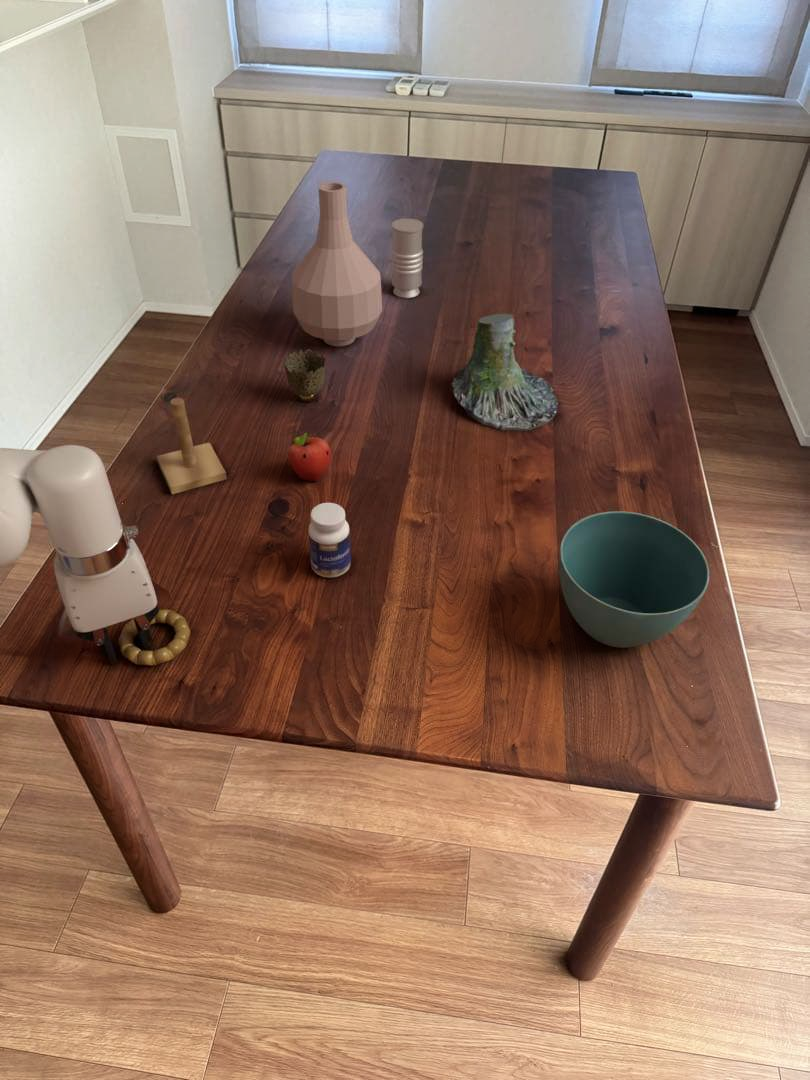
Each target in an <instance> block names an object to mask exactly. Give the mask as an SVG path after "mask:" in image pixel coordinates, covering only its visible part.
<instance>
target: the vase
mask: <svg viewBox="0 0 810 1080" xmlns="http://www.w3.org/2000/svg"><path fill="white" fill-rule="evenodd" d="M317 189H318V203H319V204H318V205H319V217H318V218H319V220H318V226H317V234H316V241H315V242H314V244H313V245H312V246H311V248H309V250H308V251H307V253H306V254H305V256H304V257H303V258H302V259H301V261H300V262H299V264H298V265H297V266H296V268H294V270H293V272H292V273H291V293H292V295H291V296H292V312H293V314H294V316H295V318H296V320H297V322H298V324H299V325H300V327H301V328H302V330H303V331H304V332H305V333H307V334H309V335H310V336H312V337H313V338H318V339H321V340H323V342H324V343H325V344H326V345H329V346H333V347H344V346H345V347H346V346H348V345H351V344H352V343H354V342H355V340H356V339H358V338H360V337H363V336H365V335H366V334H368V333H370V332H371V331H373V329H374V328H375V326H376V325H377V322H378V320H379V318H380V316H381V314H382V312H383V295H382V294H383V293H382V278H381V271H380V270H379V269H378V268H377V267H376V265H374V264H373V262H372V261H371V260H370V259H369V257H368V256H367V255H366V254H365V252H364V251H363V250H362V249H361V248H360V246H359V245H358V244H357V243H356V242H355V241H354V238H353V234H352V231H351V226H350V222H349V217H348V207H347V186H346V184H345V183H343V182H338V181H326V182H322V183H320V184H318V188H317Z"/></svg>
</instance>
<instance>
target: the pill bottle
mask: <svg viewBox="0 0 810 1080" xmlns="http://www.w3.org/2000/svg"><path fill="white" fill-rule="evenodd" d="M350 532H351V531H350V525H349V523H348V521H347V520H346V511H345V509H344V508H343V507H342V506H341V505H340V504H337V503H335V502H322V503H319V504H317V505H315V506H314V507H313V508H312V509H311V511H310V524H309V526H308V532H307V533H308V543H309V544H308V545H309V558H310V566H311V569H312V571H313V572H314V573H315V574H317V575H318V576H320V577H322V578H327V579H328V578H329V579H332V578H338V577H340V576H342V575H344V574H345V573H346V572H348V570H349V569H350V567H351V563H352V562H351V561H352V559H351V533H350Z"/></svg>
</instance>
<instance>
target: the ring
mask: <svg viewBox="0 0 810 1080" xmlns="http://www.w3.org/2000/svg"><path fill="white" fill-rule="evenodd" d="M134 619H135V618H131V619H130V620H129V621H128V622H127V623H125V624H124V626H123V628H122V630H121V632H120V635H119V638H118V645H119V649H120V652H121V655H122V656H123V657H124V658H125V659H127V660H129V661H130V662H132V663H133V664H135V665H136V666H137V665H138V666H158V665H160V664H164V663H166V662H169V661H172V660H174V659H175V658H176V657H177V656H178V655H179V654H180V653H182V652H183V651H184V650H185V649H186V647H187V644H188V642H189V639H190V636H191V629H190V626H189V624H188V621H187V619H186V618H185V616H182V615H180V614H179V613H178V612H176V611H174V610H172V609H160V610H159V613H158V614H157V615H156V616H155V618H154V619H153V620H152V621H151V623H150V625H151V626H152V625H154V624H166V625H168V626H170V627H172V628H173V630H174V636H173V639H172V640H171V641H170V642H168V643H167V644H166V646H164V647H161V648H157V649H155V650H150V651H144V650H142V649H140V648H139V647H137V646H136V643H135V638H136V636H137V634H138V631H137V628H136V625H135V622H134Z"/></svg>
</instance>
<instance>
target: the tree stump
mask: <svg viewBox="0 0 810 1080" xmlns="http://www.w3.org/2000/svg"><path fill="white" fill-rule="evenodd" d="M476 326H477V328H476V332H475V334H474V335H475V336H474V341H473V345H472V353H471V356H470V357H469V359H468V360H467V363H465V366H463V367H462V368H460V369H458V371H457V375H456V376H455V377H454V378H453V379H452V381H453V382H451V385H452V388H453V396H454V398H455V399H456V401H457V403H458V404H459V406H461V407H462V409H464V411H465V412H466V413H467V415H468V416H469V417H471V418H472V419H474V421H477V422H479V424H481V425H484V426H487V427H492V428H494V429H497V430H500V431H531V430H534V429H537V428H539V427H542V426H544V425H547V424H549V423H550V422H551V420H553V419H554V418H555V416H556V414H557V412H558V406H559V402H558V398H557V396H556V394H555V391H554V390H553V387H552V386H551V385H550V384H549V383H548V381H547V380H545V379H544V378H543V377H541V376H539V375H534V373H533V374H532V373H531V372H530V371H528V370H526V368H523V367H522V368H521V367H520V365H519V364H518V362H517V361H516V358H515V354H514V353H515V352H514V346H515V345H516V342H515V340H514V337H515V334H516V330H515V329H514V326H515V319H514V315H513V314H510V313H496V314H492V315H491V314H490V315H486V316H482V317H481V318H479V319H478V324H477V325H476Z"/></svg>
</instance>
